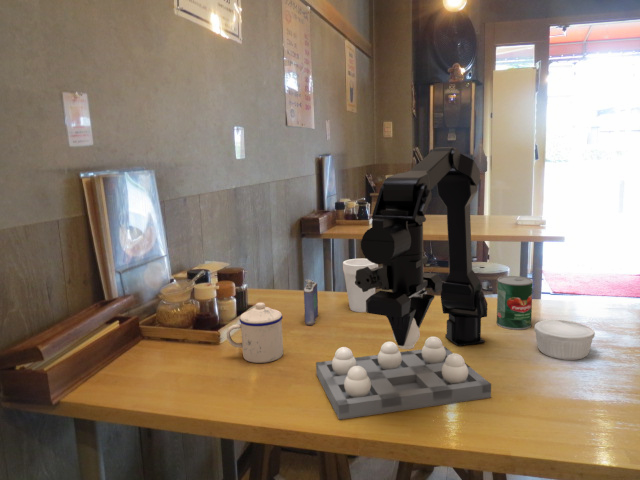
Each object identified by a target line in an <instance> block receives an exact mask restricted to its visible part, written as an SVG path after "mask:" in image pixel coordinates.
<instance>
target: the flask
mask: <svg viewBox="0 0 640 480" xmlns="http://www.w3.org/2000/svg"><path fill="white" fill-rule="evenodd" d="M304 282H305V283H306V285H305V286H304V287H303V288H304V289H303V301H304V302H303V304H304V324H305V325H306V326H309V327H310V326H313V325H315V323H316V321H317V319H318V317H319V307H318V305H319V304H318V303H319V300H318V296H319V295H318V282H315V281H314V280H311V279H305V281H304Z"/></svg>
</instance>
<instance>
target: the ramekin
mask: <svg viewBox="0 0 640 480" xmlns="http://www.w3.org/2000/svg"><path fill="white" fill-rule="evenodd" d="M533 327H534V329H533V330H534V333H535V339H536V345H537V347H538V350H539V351H540V352H541V353H542V354H544V355H545V356H548V357H550V358H554V359H558V360H564V361H565V360H566V361H576V360H581V359H584V358H585V357H587V356H588V355H589V354H590V350H591V346H592V342H593V339H594V338H595V330H594V329H593V328H592V327H590V326H588V325H587V324H583V323H581V322H577V321H573V320H566V319H545V320H541V321H538V322H536V323H535V324H534V326H533Z"/></svg>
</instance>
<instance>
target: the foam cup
mask: <svg viewBox="0 0 640 480" xmlns="http://www.w3.org/2000/svg"><path fill="white" fill-rule="evenodd" d="M365 267H369V269H373V268H376V267H379V264H375V263H372V262H370V261H369V260H368V259H367V258H364V257H363V258H360V257H359V258H352V259H351V258H350V259H346V260H344V261H343V262H342V272H343V274H344V280H345V286H346V287H345V288H346V293H347V299H348V306H349V309H350V311H352V312H356V313H367V312H366V300H367V299H368V298H369V297H370V296H371V295H373V294H375V293H376V288H372V289H369V290H368V291H366V292H363V291H362V288H359V287H358V286H357V285H356V284H355V281H356V278H355V276H356V271H357V270H359V269H361V268H362V269H363V268H365Z"/></svg>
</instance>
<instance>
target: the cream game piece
mask: <svg viewBox="0 0 640 480" xmlns="http://www.w3.org/2000/svg"><path fill="white" fill-rule="evenodd" d="M420 335H421V331H420V328H418V326H417V325H416V321H415V319H414V318H413V320H412V324H411V327H410V330H409V333H408V336H407V339H406V342H405V345H404V346H399V345H397V347H398V349H401V350H411V349H412V350H414V348H415V344H417V342H418V341H419V340H420ZM392 337H393V339H394V341H395V342H396V339H395V336H394V333H393V332H392Z"/></svg>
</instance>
